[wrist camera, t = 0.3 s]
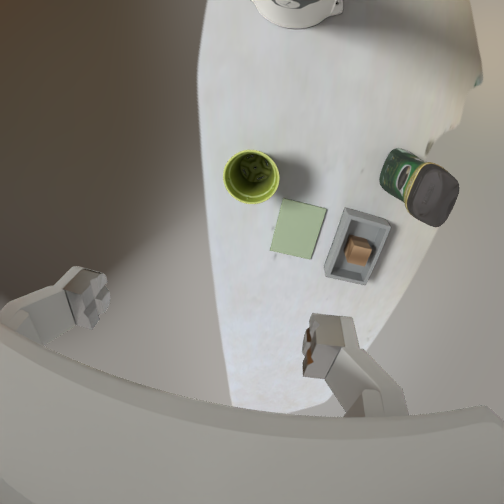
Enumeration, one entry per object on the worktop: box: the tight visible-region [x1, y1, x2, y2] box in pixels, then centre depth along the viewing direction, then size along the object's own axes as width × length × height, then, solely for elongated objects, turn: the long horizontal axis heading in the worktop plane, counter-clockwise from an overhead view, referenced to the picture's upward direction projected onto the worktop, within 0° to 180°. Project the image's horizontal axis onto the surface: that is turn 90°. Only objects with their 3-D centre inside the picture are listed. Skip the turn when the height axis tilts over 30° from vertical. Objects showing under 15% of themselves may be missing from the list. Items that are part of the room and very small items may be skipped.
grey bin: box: [324, 208, 391, 285], centre depth 57 cm, size 15×10×4 cm, turn 169°
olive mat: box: [270, 198, 326, 259], centre depth 59 cm, size 12×9×1 cm
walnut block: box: [344, 235, 372, 266], centre depth 57 cm, size 4×4×5 cm
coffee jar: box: [380, 148, 459, 227], centre depth 42 cm, size 10×8×19 cm
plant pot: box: [223, 150, 280, 204], centre depth 50 cm, size 9×9×9 cm
